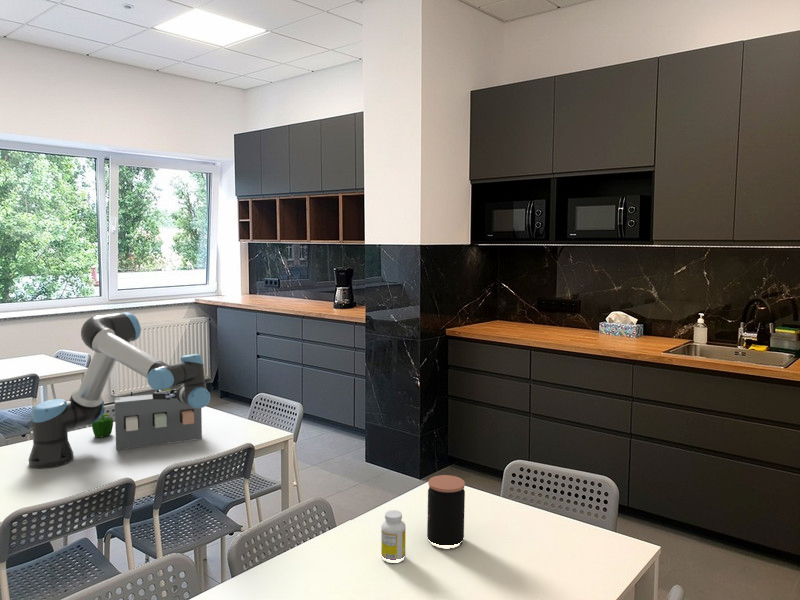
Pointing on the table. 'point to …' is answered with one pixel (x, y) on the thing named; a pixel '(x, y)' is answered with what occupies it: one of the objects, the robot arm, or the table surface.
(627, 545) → the table surface
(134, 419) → the cream key
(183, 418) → the terracotta key
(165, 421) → the sage key
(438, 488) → the coffee jar
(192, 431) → the keypad panel
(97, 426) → the bell pepper
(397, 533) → the supplement bottle
